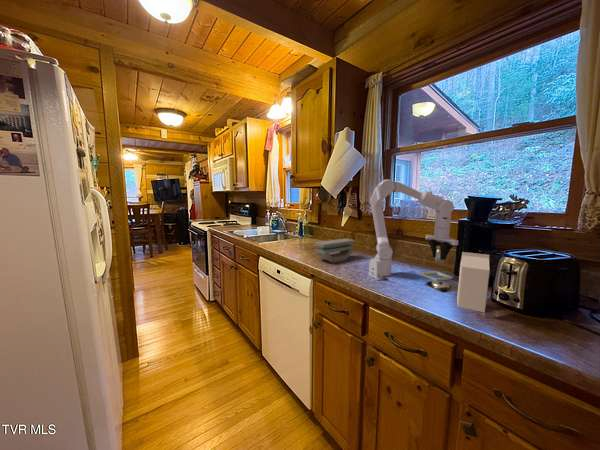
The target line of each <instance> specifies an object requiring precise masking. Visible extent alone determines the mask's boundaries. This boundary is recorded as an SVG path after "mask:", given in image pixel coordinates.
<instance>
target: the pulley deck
mask: <svg viewBox="0 0 600 450" xmlns="http://www.w3.org/2000/svg"><path fill="white" fill-rule="evenodd" d="M458 284H459V281H453V282H452V281H449V280H444V281H434V280H431V281H427V282H426V283H424V284H423V285H424V286H427V287H429V288H432V289H434V290H436V291H438V292H440V293H442V294H443V293H445V294H446V293H450V292H458Z"/></svg>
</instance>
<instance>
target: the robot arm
mask: <svg viewBox="0 0 600 450" xmlns="http://www.w3.org/2000/svg"><path fill="white" fill-rule="evenodd" d="M392 193H401V194H404V195H406V196H409V197H412V198H414V199H415V200H417V201H418V203H419V204H420V205H423V206H425V207H427V208H429V209H431V210H434V211H435V217H434V226H433V227H434V229H433V235H431V234H426V235H425V240H429V241H428V245H429V247H430V249H431V252H432V253H431V254H432V257H433V258H435V256H436V245H440V249H441V260H444V261H445V260H446V259H447V257H448V254H449V253H450V250H451V249H452V248H453V247H454V246H458V245H459V239H458V240H457V239H455V238H454V239H453V238H451V237H450V230H451V222H452V221H451V219H452V212H453V211H454V210H455V206H454V203H453V201H451V200H449V199H444V196H439V195H436V194H434V193H433V191H431V190H429V191H427V190H426V191H423V192H421V191H419V190H417V189H415V188H412V187H410V186H408V185H406V184H405V183H401V182H399V181H395V180H392V179H389V178H388V179H387V178H386V179H383V180H382V181H380V182H379V183H378V184H377V185H376V186H375V188H374V190H373V193H372V195H371V197H370V200H369V202H370V207H371V213H372V217H373V218H372V219H373V224H374V229H375V230H374V231H375V235H376V247H375V250H376V252H377V253H376V254H375V255H374V256H375V257H374V258H371V259H370V260H369V263H368V273H367V275H368V276H369V277H372V278H374V279H375V280H378V281H381V280H388V277H389V276H391V275H392V263H393V257H392V256H393V254H394V253H393V251H394V250H393V248H392V247H391V245H390V243H389V242H390V241H389V238H388V233H387V227H386V221H385V215H384V211H383V204H382V202H383V201H384V200H385V199H386V197H388V196H389V195H390V194H392Z"/></svg>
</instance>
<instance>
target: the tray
mask: <svg viewBox="0 0 600 450" xmlns="http://www.w3.org/2000/svg"><path fill="white" fill-rule="evenodd" d="M431 275H439V276H442V277H434V276H431ZM420 276H422V277H424V278H426V279H429V280H431V281H441V282H443V281H449V280H453V276H452V275H447V274H445V273H443V272H440V271H436V270H435V271H434V270H433V271H426V272H420Z"/></svg>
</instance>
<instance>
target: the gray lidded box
mask: <svg viewBox="0 0 600 450" xmlns="http://www.w3.org/2000/svg"><path fill="white" fill-rule="evenodd" d="M355 243H356V240H355V239H351V238H338V239H331V240H330V239H329V240H322V241H321V240H320V241H315V242H313V244H314V246H316V247H315V253H316V254H317V255H318V256H319V257H320V258H321V259H322V260H323V261H326V262H329V263H337V262H342V261H347V260H348V259H349V257H350V255H351V254H352V253H353V251H354V249H355V246H354V245H351V244H355Z"/></svg>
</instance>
